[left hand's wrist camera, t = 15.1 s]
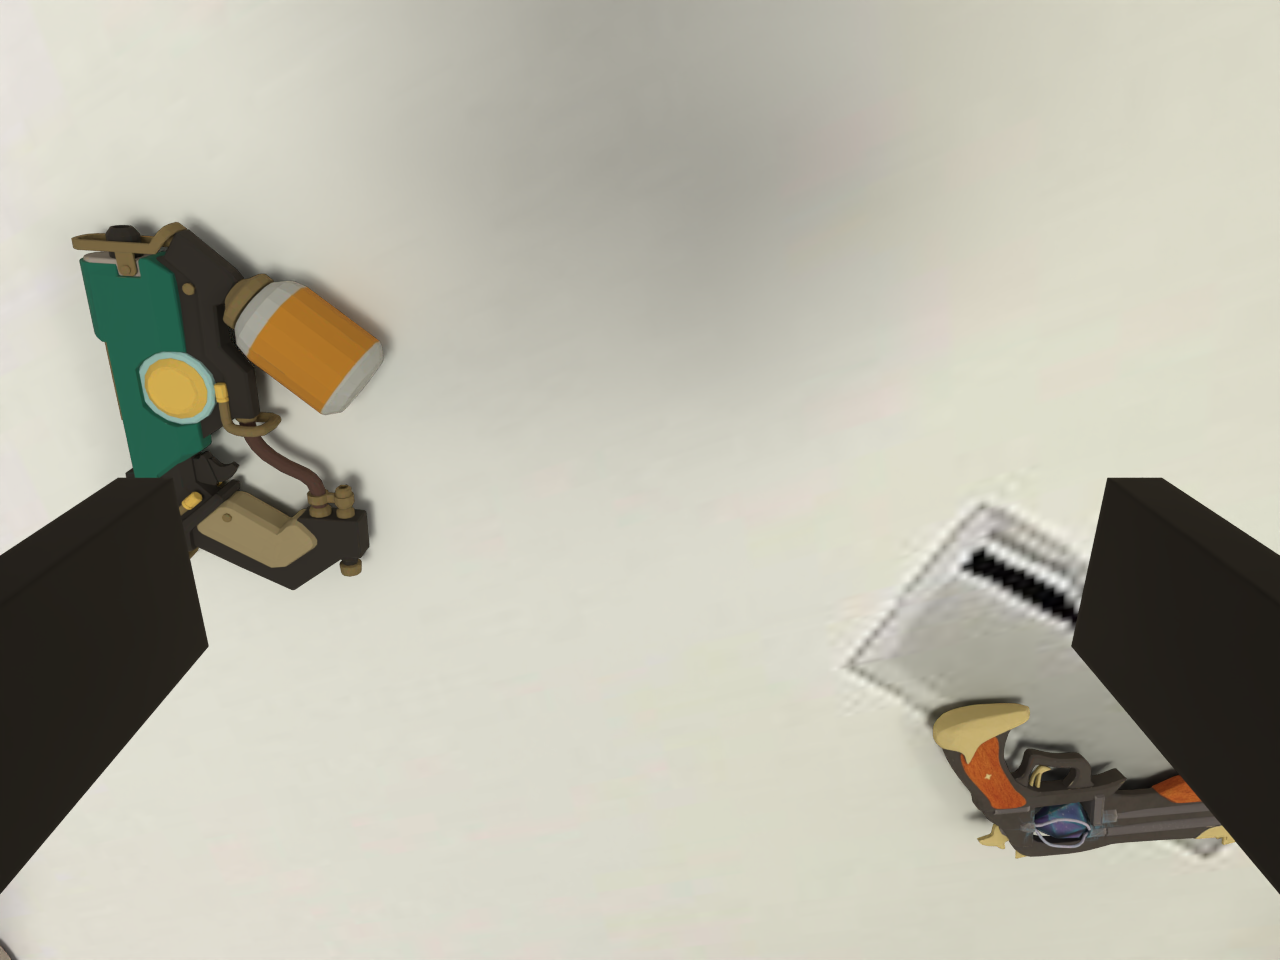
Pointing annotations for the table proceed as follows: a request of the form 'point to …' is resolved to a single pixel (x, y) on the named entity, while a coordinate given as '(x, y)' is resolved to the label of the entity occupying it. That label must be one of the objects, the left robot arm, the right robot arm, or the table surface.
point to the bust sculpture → (3, 955)
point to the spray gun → (225, 391)
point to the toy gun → (1060, 792)
